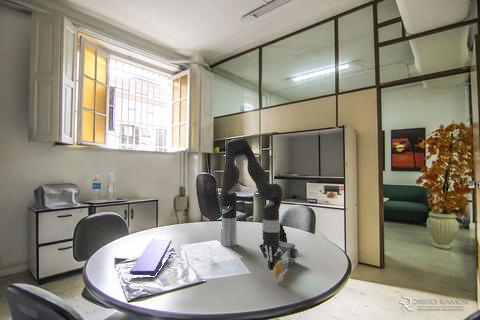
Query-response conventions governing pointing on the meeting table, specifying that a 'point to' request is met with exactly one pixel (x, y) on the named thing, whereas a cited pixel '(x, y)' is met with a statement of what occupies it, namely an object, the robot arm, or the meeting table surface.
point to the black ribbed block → (282, 234)
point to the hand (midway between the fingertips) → (271, 269)
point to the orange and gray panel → (282, 264)
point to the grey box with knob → (292, 251)
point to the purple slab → (151, 258)
